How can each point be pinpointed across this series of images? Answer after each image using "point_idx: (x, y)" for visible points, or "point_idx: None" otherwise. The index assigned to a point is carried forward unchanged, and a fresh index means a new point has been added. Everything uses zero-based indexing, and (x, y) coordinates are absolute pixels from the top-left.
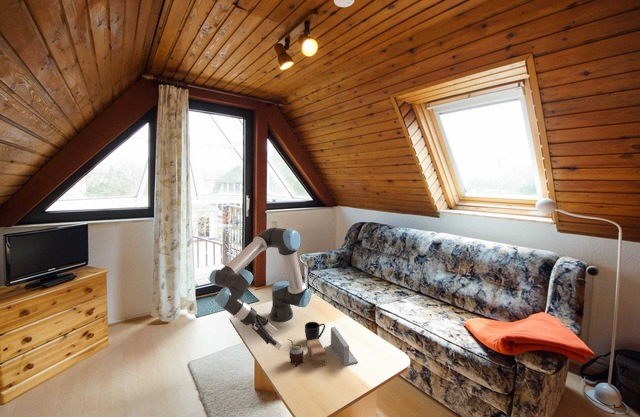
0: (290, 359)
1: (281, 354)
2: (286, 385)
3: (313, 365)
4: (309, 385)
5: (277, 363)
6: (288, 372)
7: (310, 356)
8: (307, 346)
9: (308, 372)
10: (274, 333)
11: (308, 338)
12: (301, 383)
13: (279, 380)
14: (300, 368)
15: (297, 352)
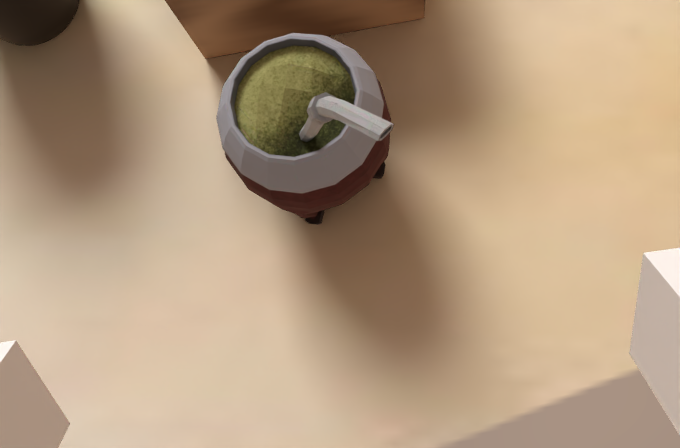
0: (312, 213)
1: (164, 306)
2: None
3: (409, 14)
4: (663, 73)
5: (301, 354)
6: (459, 249)
7: (306, 17)
8: (184, 14)
9: (484, 68)
10: (57, 414)
11: (34, 1)
12: (631, 139)
13: (569, 344)
14: (417, 134)
15: (375, 95)
